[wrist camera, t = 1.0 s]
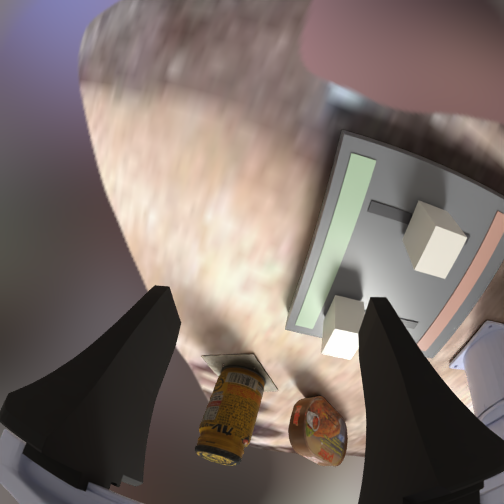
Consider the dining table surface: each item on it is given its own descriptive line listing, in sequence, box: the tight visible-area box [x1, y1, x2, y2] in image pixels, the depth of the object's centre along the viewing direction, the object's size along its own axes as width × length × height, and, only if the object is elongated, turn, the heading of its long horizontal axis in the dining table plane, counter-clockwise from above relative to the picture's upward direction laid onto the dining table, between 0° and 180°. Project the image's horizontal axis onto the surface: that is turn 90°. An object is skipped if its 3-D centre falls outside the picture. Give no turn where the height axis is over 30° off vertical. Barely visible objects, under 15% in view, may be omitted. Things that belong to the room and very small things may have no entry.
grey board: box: [285, 130, 504, 358], centre depth 20 cm, size 16×17×2 cm
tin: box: [288, 396, 348, 466], centre depth 32 cm, size 15×3×8 cm, turn 34°
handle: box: [321, 295, 365, 360], centre depth 20 cm, size 2×3×4 cm
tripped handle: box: [402, 200, 467, 279], centre depth 15 cm, size 2×3×4 cm
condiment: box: [195, 354, 278, 466], centre depth 29 cm, size 7×8×12 cm
